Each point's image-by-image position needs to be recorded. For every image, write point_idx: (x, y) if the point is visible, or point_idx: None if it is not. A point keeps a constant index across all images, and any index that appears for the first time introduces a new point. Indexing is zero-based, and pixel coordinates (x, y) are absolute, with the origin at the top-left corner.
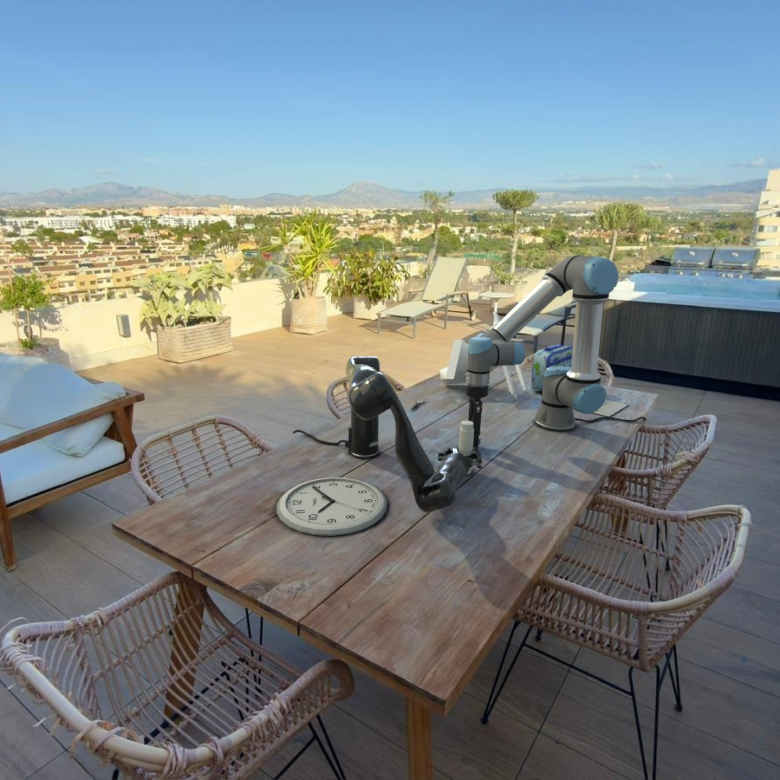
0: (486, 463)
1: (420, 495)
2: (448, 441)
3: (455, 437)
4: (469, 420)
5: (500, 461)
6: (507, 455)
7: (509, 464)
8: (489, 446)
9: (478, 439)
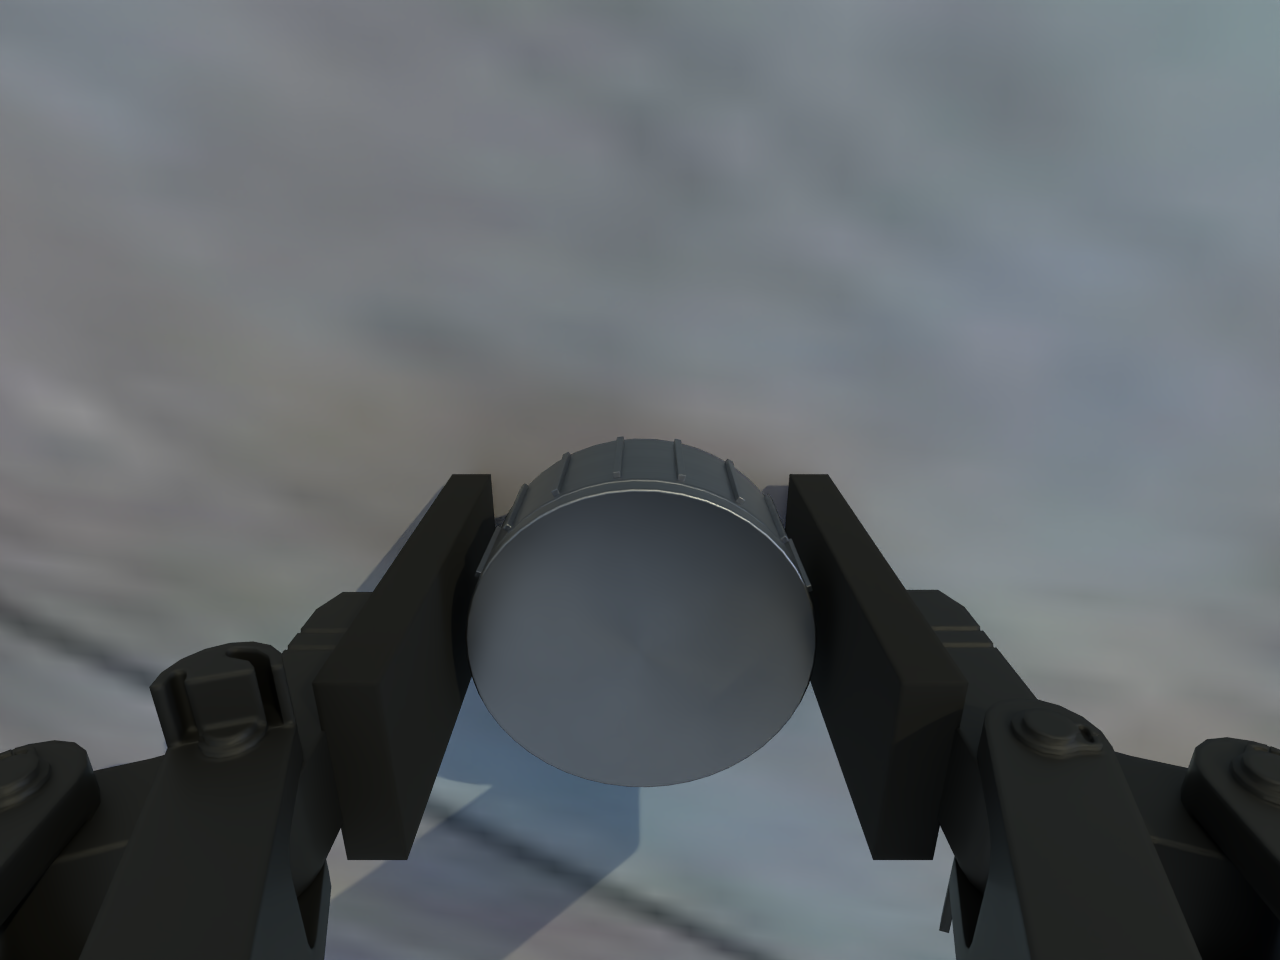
0: (135, 661)
1: None
2: (999, 116)
3: (1185, 288)
4: (1013, 888)
5: None
6: (466, 917)
7: None
8: (749, 770)
9: (514, 740)
